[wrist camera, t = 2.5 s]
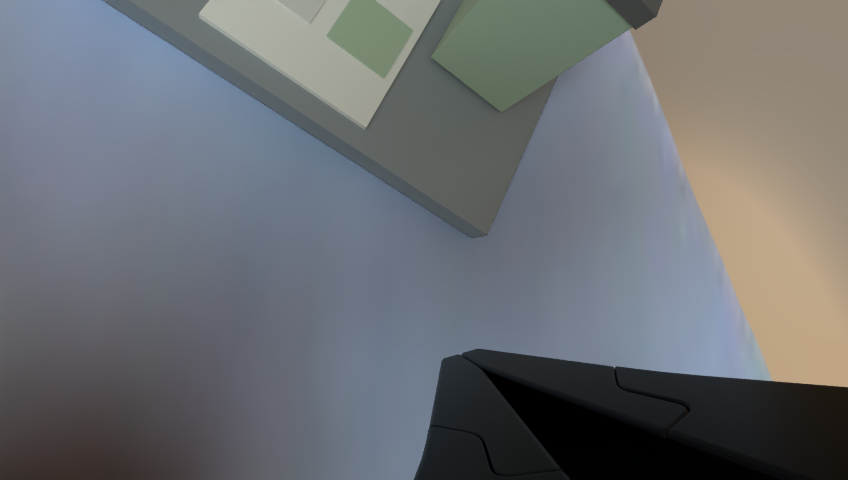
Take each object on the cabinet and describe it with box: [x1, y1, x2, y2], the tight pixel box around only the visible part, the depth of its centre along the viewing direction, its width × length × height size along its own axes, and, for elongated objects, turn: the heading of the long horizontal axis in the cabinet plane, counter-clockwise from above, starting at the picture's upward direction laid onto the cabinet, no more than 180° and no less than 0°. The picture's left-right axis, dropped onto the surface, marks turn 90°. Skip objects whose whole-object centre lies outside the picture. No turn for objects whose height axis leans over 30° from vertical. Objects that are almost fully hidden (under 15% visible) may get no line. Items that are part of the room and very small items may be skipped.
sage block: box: [431, 0, 662, 112], centre depth 18 cm, size 4×5×9 cm
